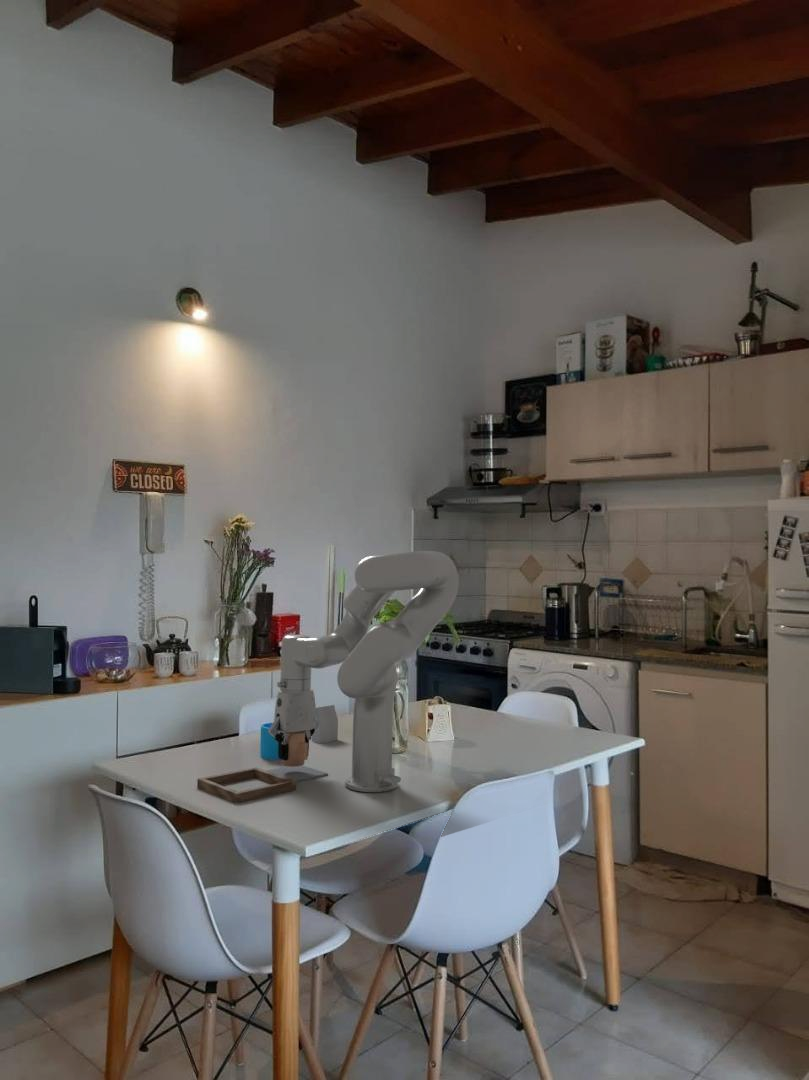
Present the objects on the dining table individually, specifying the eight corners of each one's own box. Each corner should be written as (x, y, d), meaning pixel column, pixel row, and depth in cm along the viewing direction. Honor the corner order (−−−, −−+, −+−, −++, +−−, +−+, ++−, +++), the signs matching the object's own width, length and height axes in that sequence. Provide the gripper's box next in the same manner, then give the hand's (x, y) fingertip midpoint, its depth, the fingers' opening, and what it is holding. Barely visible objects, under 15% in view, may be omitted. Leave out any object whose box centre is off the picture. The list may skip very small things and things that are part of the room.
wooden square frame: (296, 789, 208) (296, 781, 208) (236, 802, 197) (236, 793, 197) (255, 775, 220) (255, 767, 220) (197, 787, 209) (197, 778, 209)
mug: (254, 755, 241) (254, 725, 241) (279, 750, 247) (279, 721, 247) (279, 763, 232) (280, 732, 232) (305, 759, 238) (305, 728, 238)
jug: (277, 763, 222) (278, 731, 222) (295, 759, 226) (296, 728, 226) (296, 769, 216) (297, 736, 216) (314, 766, 220) (315, 733, 220)
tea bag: (337, 739, 262) (338, 705, 262) (320, 743, 257) (320, 708, 257) (329, 737, 264) (329, 704, 264) (311, 741, 260) (312, 706, 260)
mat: (327, 775, 222) (328, 773, 222) (288, 783, 213) (288, 781, 213) (298, 766, 230) (298, 764, 230) (259, 773, 222) (259, 771, 222)
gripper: (276, 690, 213) (274, 766, 213) (331, 683, 225) (329, 755, 225) (258, 686, 219) (255, 759, 219) (313, 679, 231) (311, 749, 231)
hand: (293, 756), depth 222 cm, fingers closed on jug, 5 cm apart
